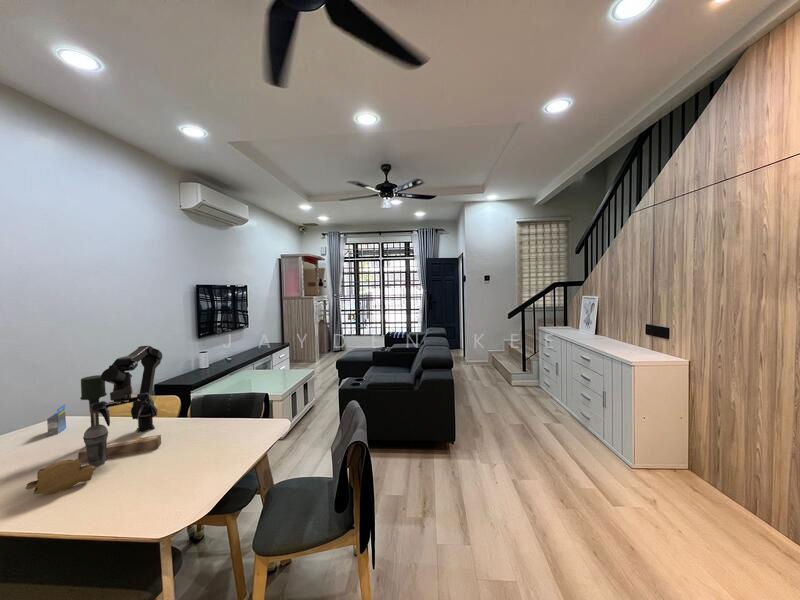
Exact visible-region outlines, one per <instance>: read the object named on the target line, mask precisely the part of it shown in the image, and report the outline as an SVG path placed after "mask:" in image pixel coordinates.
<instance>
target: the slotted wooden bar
mask: <svg viewBox="0 0 800 600" xmlns="http://www.w3.org/2000/svg"><path fill="white" fill-rule="evenodd" d="M161 444H162V435H161V434H156V435H152V436H145V437H137V438H133V439H126V440H122V441H121V440H120V441H115V442H107V444H106V458H113V457H116V456H117V457H118V456H123V454H124V455H129V454H134V452H135V453H140V451H141V452H146V451H152V450H156V449H157V448H158V449H159V448H160V446H161ZM151 449H152V450H151ZM145 450H146V451H145ZM77 456H78V457H77V459H79V460H80V462H81V463H84V461H85V462H88V457H87V451H86V446H84V447H83V448H82V449H80V450H79V451H78V452H77Z"/></svg>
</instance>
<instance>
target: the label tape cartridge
mask: <svg viewBox="0 0 800 600" xmlns="http://www.w3.org/2000/svg"><path fill="white" fill-rule="evenodd" d="M66 417H67V416H66V403H64V404H62V405H61V406H60V407H58V408H56V412H55V413H54V414H52V415H51V416H49V417H48V418H47V419H46V421H47V436H48V435H49V436H54V435H53V434H55V435H58V433H59V434H60V433H61V432H62V431H64V430H65V429H66V428H67V420H66ZM63 429H64V430H63Z"/></svg>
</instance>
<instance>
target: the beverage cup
mask: <svg viewBox="0 0 800 600" xmlns="http://www.w3.org/2000/svg"><path fill="white" fill-rule="evenodd" d="M108 437H109V431H108V427H106V426H105V425H103V424H100V423H99V424H96V416H95V413H94V425H93V426H91V425H90V426H89V427H87V429H85V431H84V434H83V437H82V439H83V442H84V445H85V447H86V451H87V457H88V461H87V463H88V465H95V468H97V466H98V467H100V465H101V466H102V464H103V465H104V464H106V444H107V443H108Z"/></svg>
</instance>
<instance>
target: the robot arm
mask: <svg viewBox="0 0 800 600" xmlns="http://www.w3.org/2000/svg"><path fill="white" fill-rule="evenodd" d="M162 359H163V353H162V352H161V351H160V349H158V348H157V349H156V348H155V347H152V346H151V345H139V346H138V347H137V348H136V349H134V351H132V352H131V353H129V354H128V355H125V356H121V357H117V358H116V359H115V360H114V362H112V364H111V365H109V366H108V368H106V369H105V370H103V371H102V373H101V374H100V375H101V378H102V380H104V381H105V383H109V384H112V385H113V389H112V391H111V392H109V399H110V402H107V401H105V400H102V401H99V402H97V403H93V404H92V406H91V410H92V411H94V412H98V413H99V414H101V416H102V417H103V419H104V421H105V424H106V425H107V426H108V427H110V426H111V425H110V424H111V420H110V410H109V408H112V407H117V406H121V405H125V404H126V405H127V404H131V403H132V407H131V409H130V414H131V417H132V420H137V426H138V427H137V428H136V431H137V433H139V434H140V433H142V432H148V431H151V429H152V430H156V428H155V426H154V422H153V418H154V417H157V416H158V408H157V407H156V406H155V402H154V399H153V398H152V392H153V386H154V381H155V375H156V369H157V368H158V367H159V366H160V364H161V361H162ZM139 362H140V363H141V365H142V366H143V372H142V378H141V384H140V387H139V393H138V394H137V395H136V396H135V397H132V394H133V392H134V391H133V386H132V377H133V375H132V374H131V373H130V371H134V370H135V369H136V368H137V367H138V365H139Z"/></svg>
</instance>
